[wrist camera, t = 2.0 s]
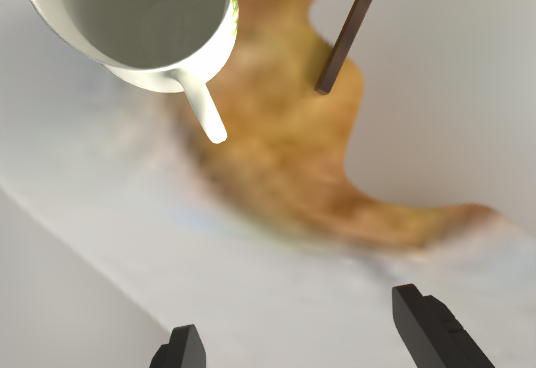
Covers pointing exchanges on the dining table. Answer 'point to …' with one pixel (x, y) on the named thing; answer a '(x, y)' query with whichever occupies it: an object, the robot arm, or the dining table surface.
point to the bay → (342, 46)
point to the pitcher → (153, 43)
